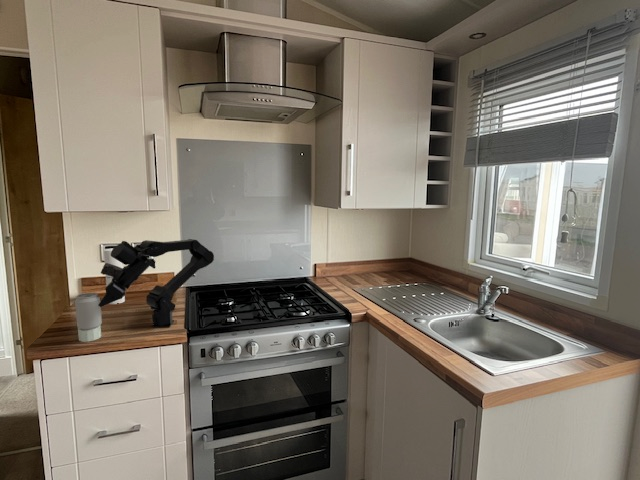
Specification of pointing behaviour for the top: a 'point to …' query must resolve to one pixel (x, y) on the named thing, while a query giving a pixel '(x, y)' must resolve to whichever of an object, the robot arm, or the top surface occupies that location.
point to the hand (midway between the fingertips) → (101, 302)
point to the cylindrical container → (117, 263)
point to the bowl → (89, 334)
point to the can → (88, 311)
